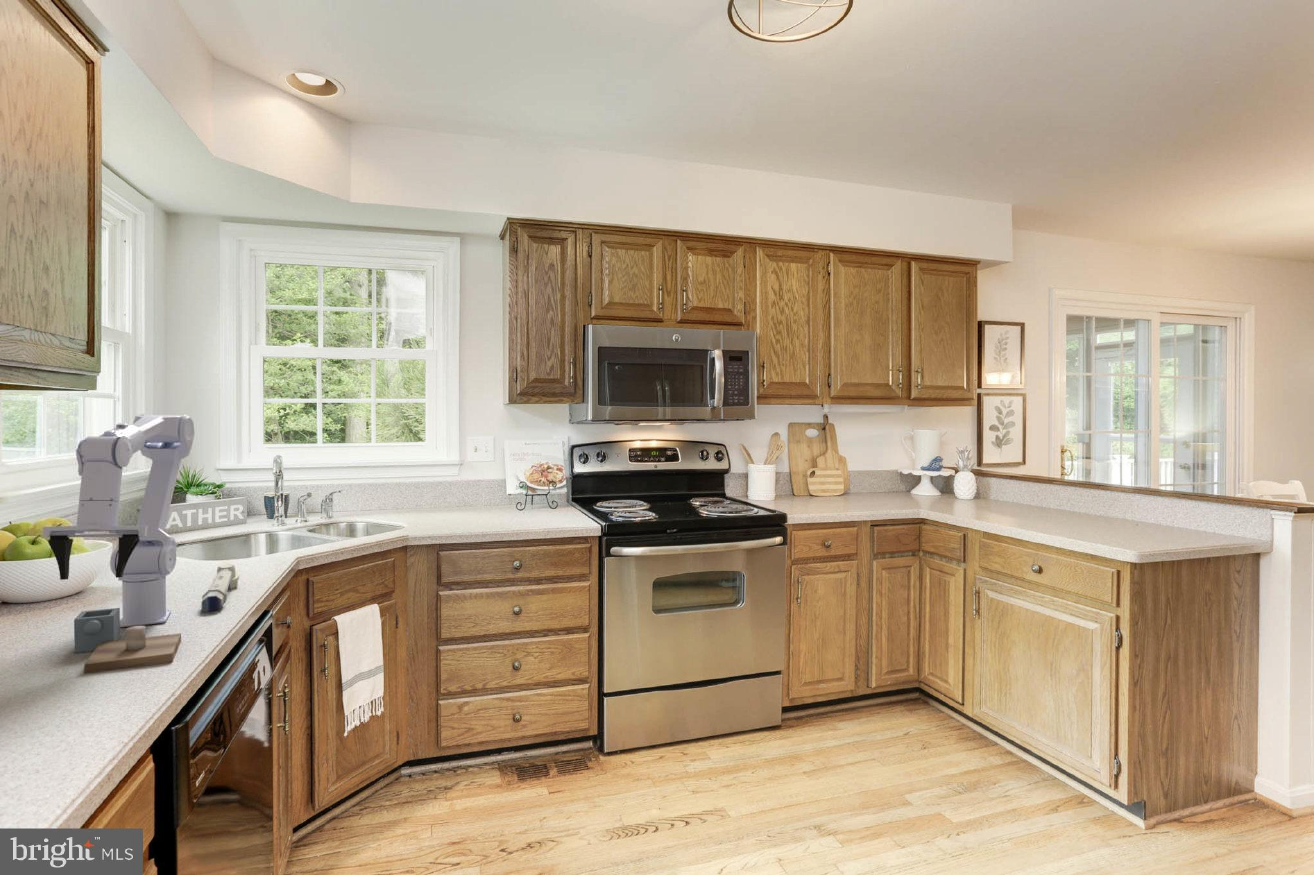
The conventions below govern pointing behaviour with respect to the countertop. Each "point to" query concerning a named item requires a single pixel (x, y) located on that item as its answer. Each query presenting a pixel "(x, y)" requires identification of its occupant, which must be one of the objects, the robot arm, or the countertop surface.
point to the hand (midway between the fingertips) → (91, 578)
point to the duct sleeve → (96, 628)
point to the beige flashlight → (220, 587)
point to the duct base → (133, 651)
